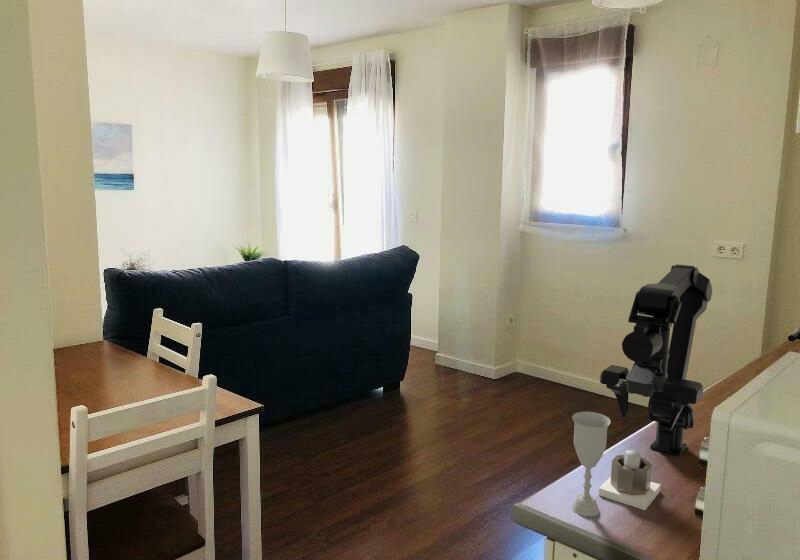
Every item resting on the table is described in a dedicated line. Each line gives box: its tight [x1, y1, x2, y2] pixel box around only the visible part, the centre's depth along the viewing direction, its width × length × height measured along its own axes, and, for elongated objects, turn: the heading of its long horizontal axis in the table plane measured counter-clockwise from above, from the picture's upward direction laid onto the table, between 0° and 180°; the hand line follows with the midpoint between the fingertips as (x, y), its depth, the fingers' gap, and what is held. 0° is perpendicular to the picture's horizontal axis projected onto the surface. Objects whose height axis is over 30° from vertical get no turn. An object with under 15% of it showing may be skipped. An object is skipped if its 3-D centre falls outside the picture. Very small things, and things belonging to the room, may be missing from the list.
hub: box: [610, 454, 653, 496], centre depth 127 cm, size 7×7×5 cm
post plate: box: [598, 449, 662, 511], centre depth 127 cm, size 9×9×8 cm
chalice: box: [571, 411, 611, 517], centre depth 120 cm, size 7×7×18 cm
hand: (647, 423), depth 131 cm, fingers open, 9 cm apart
